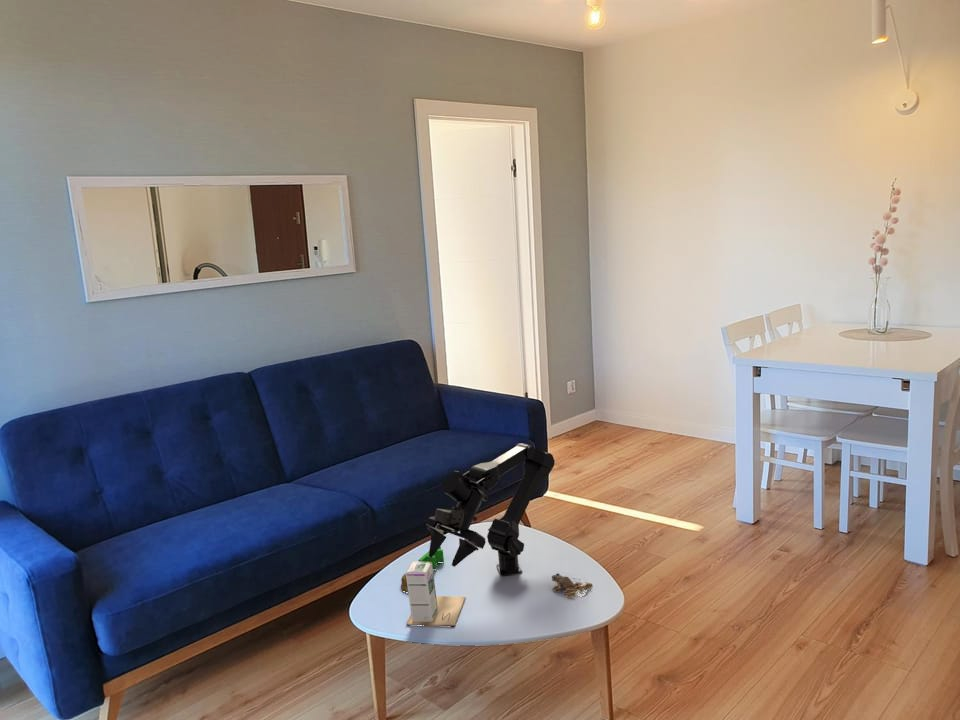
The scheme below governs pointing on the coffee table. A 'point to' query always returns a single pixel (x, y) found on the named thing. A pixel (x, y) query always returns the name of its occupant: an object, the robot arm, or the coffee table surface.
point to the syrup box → (421, 591)
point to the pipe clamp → (433, 558)
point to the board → (444, 612)
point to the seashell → (404, 583)
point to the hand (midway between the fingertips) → (441, 561)
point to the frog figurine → (570, 586)
